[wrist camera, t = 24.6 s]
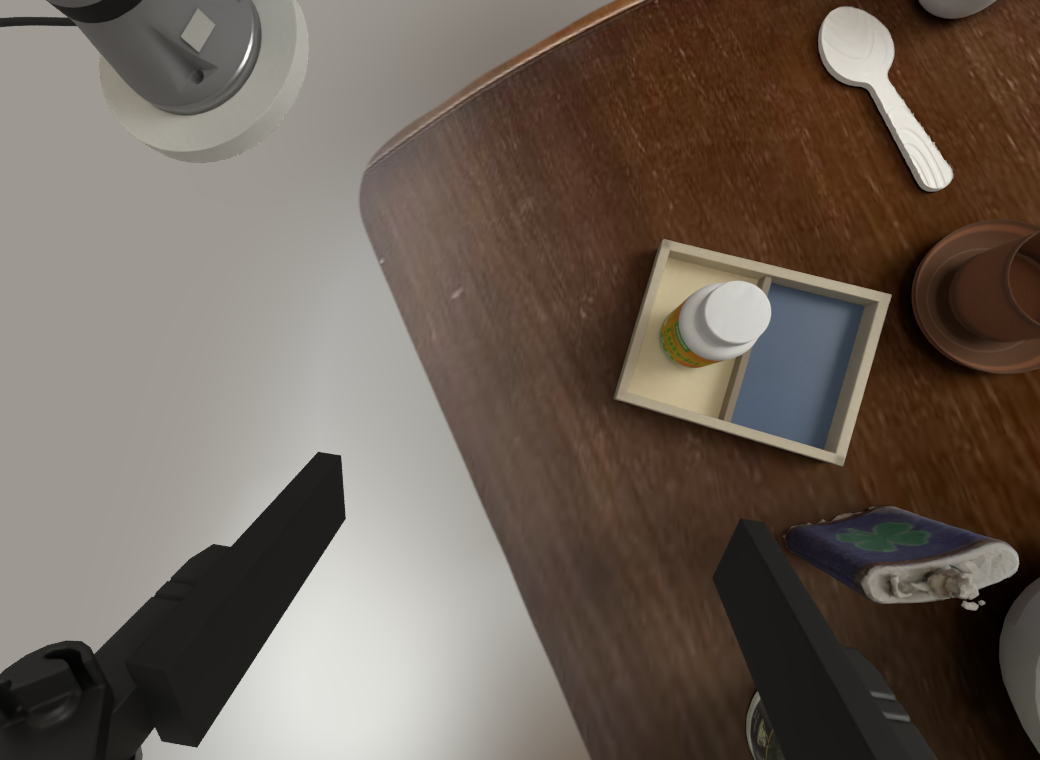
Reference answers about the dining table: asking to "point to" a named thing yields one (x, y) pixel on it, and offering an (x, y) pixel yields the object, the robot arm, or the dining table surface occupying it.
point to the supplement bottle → (715, 324)
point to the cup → (954, 7)
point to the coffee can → (761, 733)
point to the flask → (903, 556)
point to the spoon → (879, 87)
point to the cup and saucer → (983, 296)
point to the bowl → (1023, 659)
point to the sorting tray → (761, 355)
